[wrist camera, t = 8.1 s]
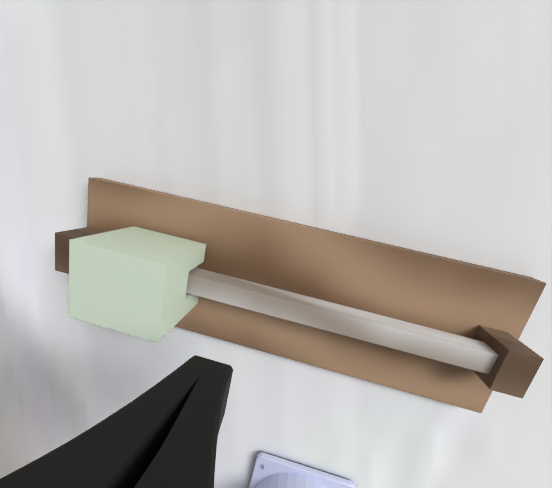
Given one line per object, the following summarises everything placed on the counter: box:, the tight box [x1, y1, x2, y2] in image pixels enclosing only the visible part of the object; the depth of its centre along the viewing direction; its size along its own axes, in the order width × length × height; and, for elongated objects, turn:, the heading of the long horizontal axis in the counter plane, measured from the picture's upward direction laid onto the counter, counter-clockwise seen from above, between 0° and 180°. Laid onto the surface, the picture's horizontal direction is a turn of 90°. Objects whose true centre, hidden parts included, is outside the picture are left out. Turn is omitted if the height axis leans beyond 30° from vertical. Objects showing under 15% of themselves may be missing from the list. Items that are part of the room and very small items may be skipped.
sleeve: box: [69, 226, 206, 343], centre depth 15 cm, size 4×5×4 cm
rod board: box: [55, 178, 546, 413], centre depth 15 cm, size 9×28×4 cm, turn 78°
